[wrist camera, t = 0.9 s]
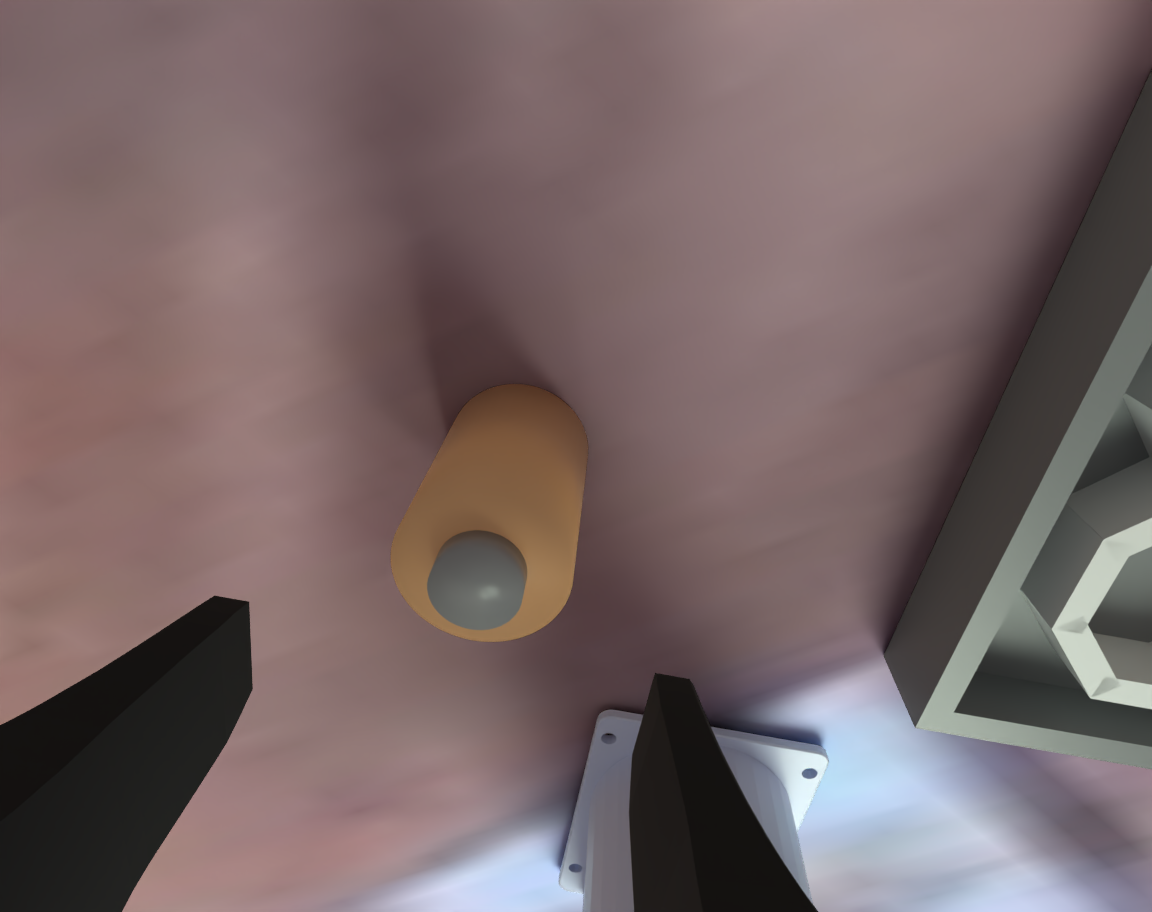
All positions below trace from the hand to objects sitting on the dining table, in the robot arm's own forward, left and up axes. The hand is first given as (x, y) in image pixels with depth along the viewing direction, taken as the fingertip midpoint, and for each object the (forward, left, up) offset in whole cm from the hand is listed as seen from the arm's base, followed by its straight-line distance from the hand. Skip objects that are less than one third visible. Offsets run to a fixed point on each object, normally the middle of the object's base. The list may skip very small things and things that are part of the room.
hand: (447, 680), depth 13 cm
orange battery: (0, 0, -9) cm, 9 cm away
